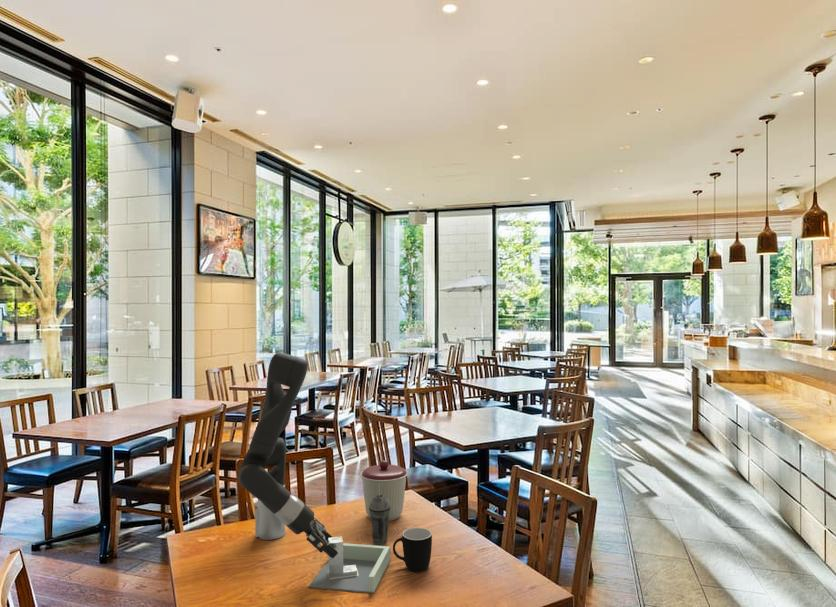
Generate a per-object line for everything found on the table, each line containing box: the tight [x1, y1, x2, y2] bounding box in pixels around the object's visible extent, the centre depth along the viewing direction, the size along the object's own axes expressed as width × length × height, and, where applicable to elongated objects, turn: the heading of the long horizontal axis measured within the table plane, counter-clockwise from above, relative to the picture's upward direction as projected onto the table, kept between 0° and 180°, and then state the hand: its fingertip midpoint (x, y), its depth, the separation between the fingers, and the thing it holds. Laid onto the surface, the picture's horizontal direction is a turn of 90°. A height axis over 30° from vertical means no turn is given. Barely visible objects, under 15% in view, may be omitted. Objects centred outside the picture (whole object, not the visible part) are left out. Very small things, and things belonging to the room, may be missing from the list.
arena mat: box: [308, 559, 391, 594], centre depth 154 cm, size 19×19×1 cm
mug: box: [392, 527, 433, 573], centre depth 158 cm, size 12×9×10 cm
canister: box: [359, 459, 409, 522], centre depth 198 cm, size 18×18×21 cm
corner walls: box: [343, 542, 391, 594], centre depth 155 cm, size 19×19×4 cm
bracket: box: [327, 535, 357, 579], centre depth 154 cm, size 8×4×10 cm, turn 103°
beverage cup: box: [369, 483, 390, 546], centre depth 176 cm, size 7×7×20 cm
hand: (334, 548), depth 153 cm, fingers open, 8 cm apart
